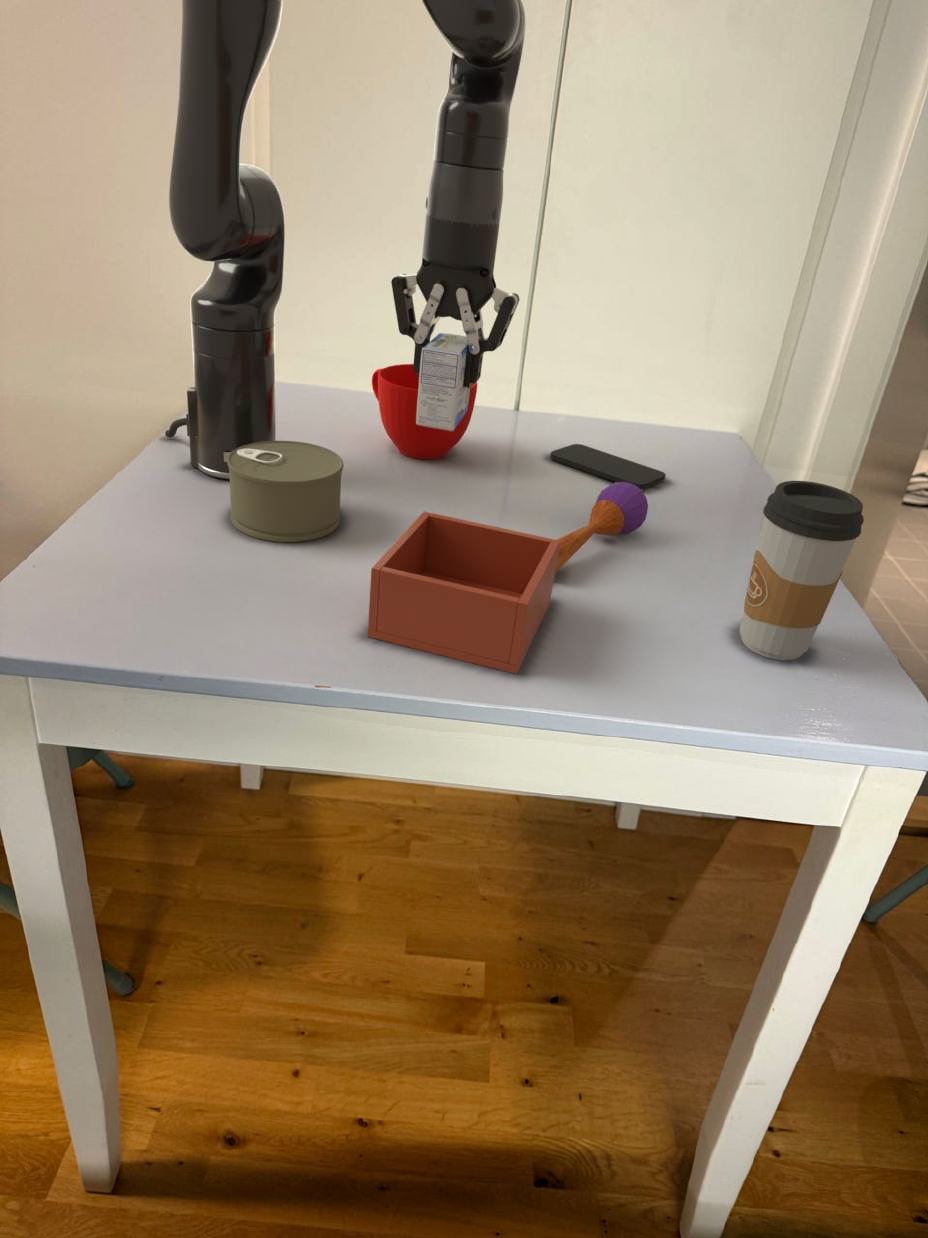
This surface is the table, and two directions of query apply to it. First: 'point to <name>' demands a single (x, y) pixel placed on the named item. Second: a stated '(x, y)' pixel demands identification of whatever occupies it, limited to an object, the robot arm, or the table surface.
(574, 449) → the phone
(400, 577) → the bin
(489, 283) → the robot arm
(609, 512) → the purple and orange maraca
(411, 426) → the ceramic cup
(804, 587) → the coffee cup
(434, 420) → the medicine box
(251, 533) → the can
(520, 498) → the table surface
